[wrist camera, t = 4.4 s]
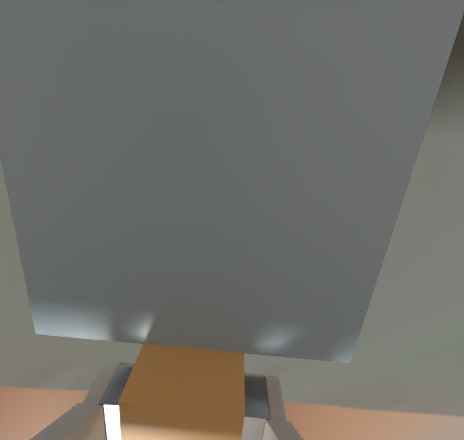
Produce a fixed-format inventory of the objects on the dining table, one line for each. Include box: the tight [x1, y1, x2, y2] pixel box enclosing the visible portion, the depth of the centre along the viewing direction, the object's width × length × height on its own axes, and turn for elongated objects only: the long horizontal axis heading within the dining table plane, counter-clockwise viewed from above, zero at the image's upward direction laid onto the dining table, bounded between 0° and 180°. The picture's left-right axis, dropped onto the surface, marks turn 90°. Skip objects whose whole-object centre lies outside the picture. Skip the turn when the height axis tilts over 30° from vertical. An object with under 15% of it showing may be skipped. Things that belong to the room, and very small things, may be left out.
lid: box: [0, 0, 464, 440], centre depth 7 cm, size 17×11×4 cm, turn 175°
